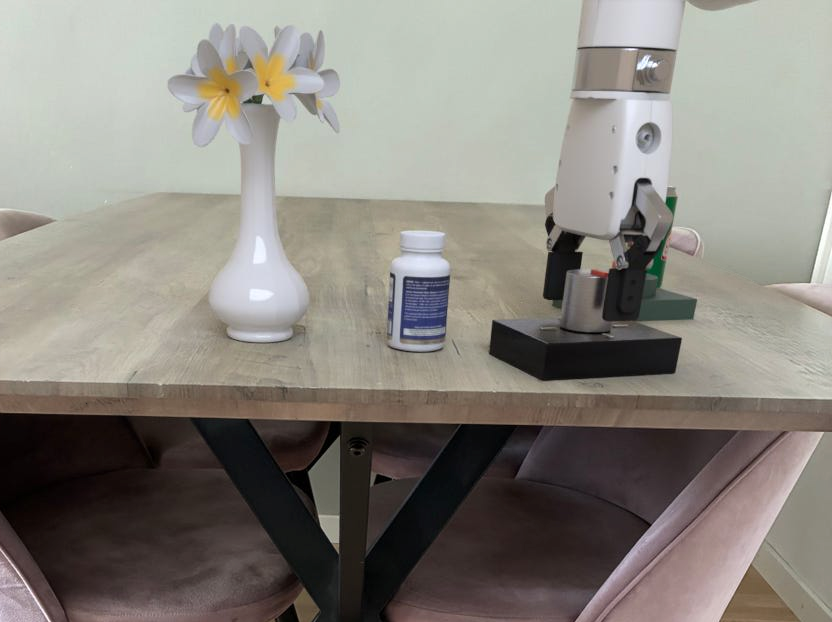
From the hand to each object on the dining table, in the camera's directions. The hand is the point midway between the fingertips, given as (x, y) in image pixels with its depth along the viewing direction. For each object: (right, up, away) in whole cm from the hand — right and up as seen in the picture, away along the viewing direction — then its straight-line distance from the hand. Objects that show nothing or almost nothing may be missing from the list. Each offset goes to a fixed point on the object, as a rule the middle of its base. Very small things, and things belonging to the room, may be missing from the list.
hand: (588, 309), depth 82 cm
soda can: (+17, +16, +40) cm, 46 cm away
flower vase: (-29, 0, +7) cm, 30 cm away
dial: (0, -1, +1) cm, 2 cm away
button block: (+10, +8, +25) cm, 28 cm away
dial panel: (0, -4, +2) cm, 5 cm away
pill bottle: (-14, -2, +6) cm, 16 cm away
